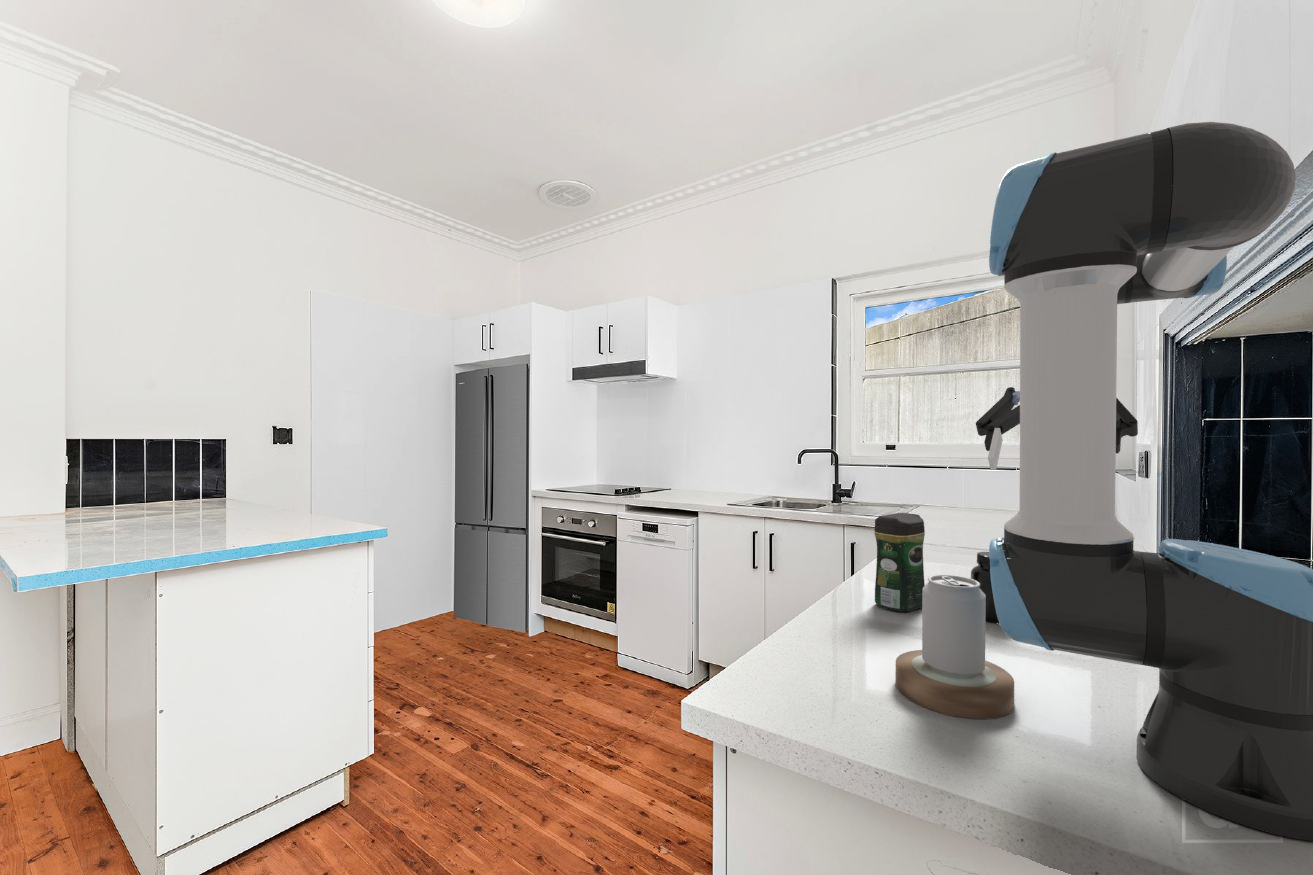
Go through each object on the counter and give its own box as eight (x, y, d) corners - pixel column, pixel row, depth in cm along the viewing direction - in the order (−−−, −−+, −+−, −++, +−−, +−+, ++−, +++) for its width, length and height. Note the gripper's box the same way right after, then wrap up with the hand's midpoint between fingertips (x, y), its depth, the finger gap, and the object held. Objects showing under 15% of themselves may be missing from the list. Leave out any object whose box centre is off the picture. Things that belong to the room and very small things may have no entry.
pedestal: (1041, 715, 69) (1041, 689, 69) (934, 722, 68) (934, 696, 68) (966, 667, 83) (966, 646, 83) (876, 672, 82) (876, 650, 82)
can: (951, 684, 71) (951, 589, 71) (909, 660, 78) (910, 574, 78) (999, 677, 73) (1000, 584, 73) (954, 654, 80) (955, 570, 80)
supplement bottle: (961, 615, 107) (962, 552, 107) (985, 610, 110) (986, 548, 110) (997, 626, 101) (997, 559, 100) (1021, 621, 103) (1021, 556, 103)
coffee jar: (895, 597, 119) (896, 509, 118) (932, 606, 112) (932, 513, 112) (866, 605, 113) (867, 512, 113) (902, 615, 107) (903, 517, 106)
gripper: (1160, 383, 87) (1159, 487, 76) (979, 391, 104) (956, 478, 93) (1160, 345, 83) (1159, 449, 72) (971, 360, 100) (947, 446, 89)
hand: (1045, 465), depth 82 cm, fingers open, 13 cm apart
